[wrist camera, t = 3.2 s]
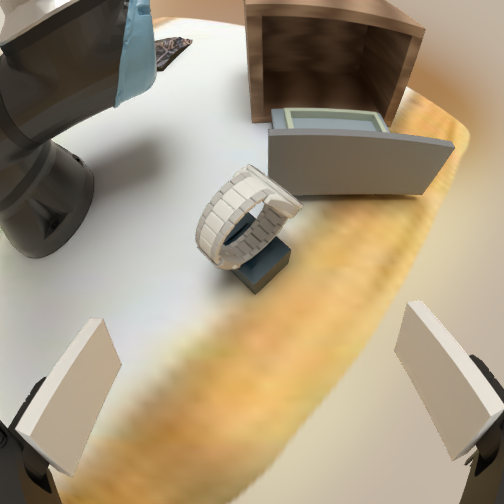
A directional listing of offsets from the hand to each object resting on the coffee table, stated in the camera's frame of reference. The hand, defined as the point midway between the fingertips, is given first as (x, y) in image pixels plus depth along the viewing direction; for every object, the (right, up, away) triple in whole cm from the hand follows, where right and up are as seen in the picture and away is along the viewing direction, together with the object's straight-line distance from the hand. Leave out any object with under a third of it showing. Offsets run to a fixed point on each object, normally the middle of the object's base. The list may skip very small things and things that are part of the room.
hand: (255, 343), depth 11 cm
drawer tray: (+10, +16, +19) cm, 27 cm away
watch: (0, +3, +16) cm, 16 cm away
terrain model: (-24, +46, +36) cm, 63 cm away
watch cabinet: (+10, +28, +26) cm, 39 cm away
